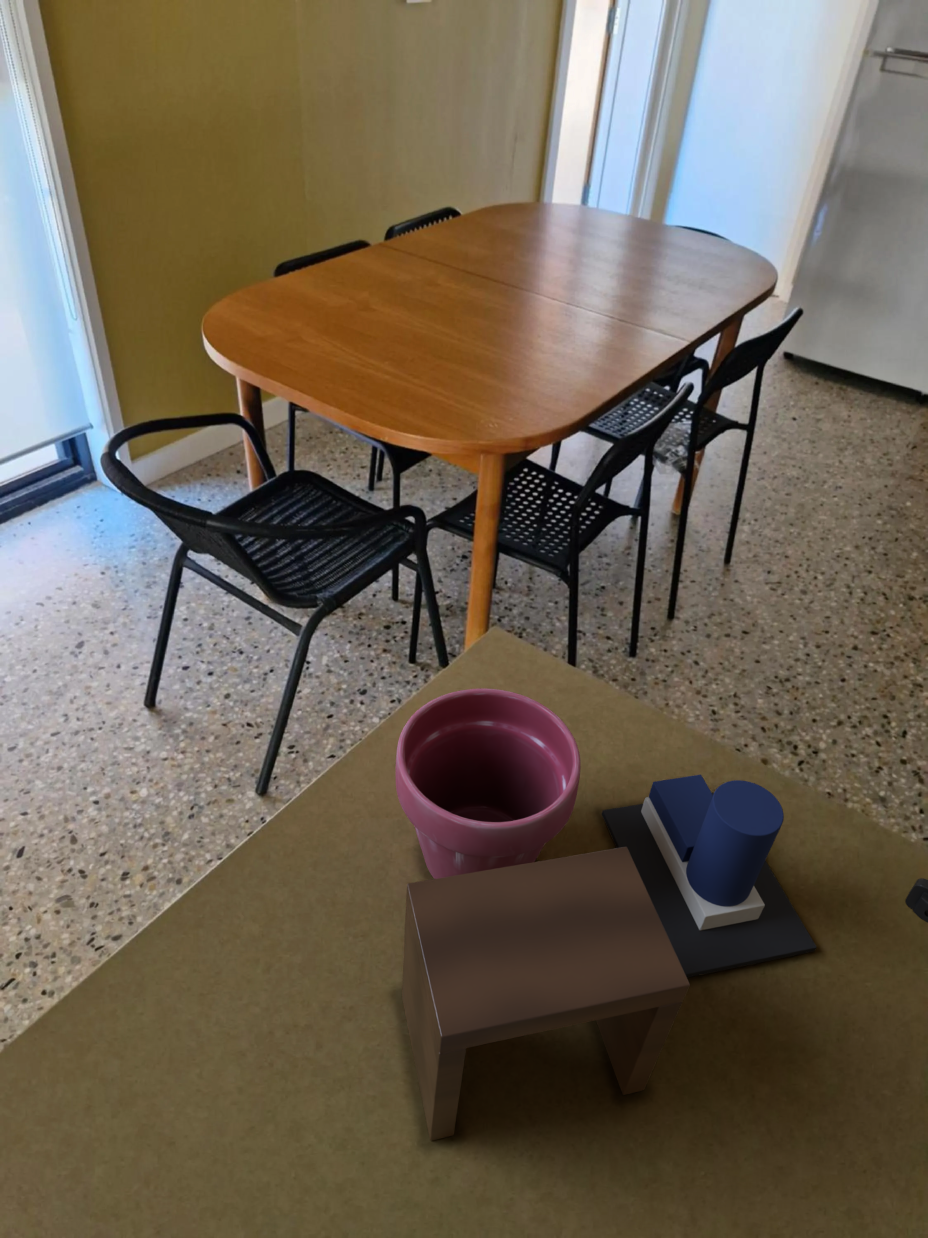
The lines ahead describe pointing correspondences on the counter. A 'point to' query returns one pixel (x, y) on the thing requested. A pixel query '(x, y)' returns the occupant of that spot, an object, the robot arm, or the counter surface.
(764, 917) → the shoe mat
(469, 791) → the flower pot
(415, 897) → the shoe bench
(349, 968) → the counter surface
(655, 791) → the boot
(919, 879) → the robot arm
